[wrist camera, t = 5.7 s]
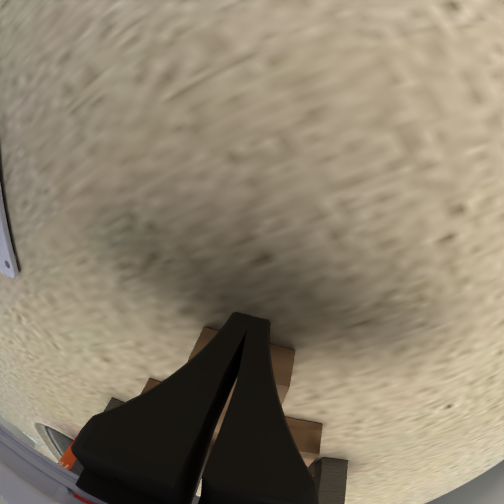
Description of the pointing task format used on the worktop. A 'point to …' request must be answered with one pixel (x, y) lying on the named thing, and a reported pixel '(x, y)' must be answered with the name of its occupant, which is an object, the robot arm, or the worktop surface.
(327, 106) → the worktop surface
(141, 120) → the worktop surface
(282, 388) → the tray
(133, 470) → the robot arm
